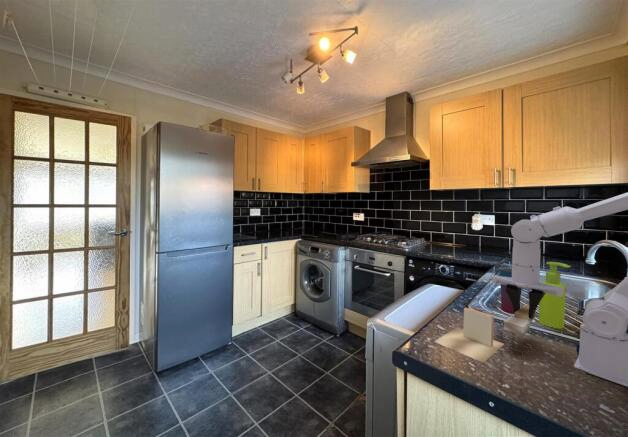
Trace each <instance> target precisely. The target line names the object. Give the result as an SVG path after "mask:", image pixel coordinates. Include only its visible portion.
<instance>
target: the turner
mask: <svg viewBox="0 0 628 437" xmlns="http://www.w3.org/2000/svg"><path fill="white" fill-rule="evenodd" d="M536 312H537V311H535V315H534V318H532V319H531V318H529V304H523V305H522V306H520V309H519V310H517V311H516V312H515V313H513V314H514V316H513V315H510V316H508V317H507V318H506V319H505V320H504V321H503V329H504V330H505V331H509V332H512V333H515V334H519V335H522V336H525V335H526V334H527V332H528V331H529V330H530V329H531V328H530V327H531V323H532V322H533V320H534V319H536V316H537V314H536Z"/></svg>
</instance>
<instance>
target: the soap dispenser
mask: <svg viewBox="0 0 628 437" xmlns="http://www.w3.org/2000/svg"><path fill="white" fill-rule="evenodd" d="M546 265H549V270H548V271H546V272H545V280H544V281H540V282H541V283H545V284H549V285H553V286H558V287H563V288H564V290H563V296H562V297H560V296H556V295H554V294H549V293H546V294H545V295H544V296H543V298H542V299H541V301H540V302H539V304H538V306H539V308H538V309H539V311H538V322H539V324H540V325H542V324H543V325H542V326H544V325H546V326H545V327H547V326H549V327H548V328H551V327H553V328H552V329H556V328H557V329H558V330H561V329H564V328H565V314H566V313H565V309H566V291H567V290H566V288H567V287H566V286H567V285H565V284H563V283H561V273H560V272H558V267H562V268H565V269H566V268H571V267H572V266H571V265H568V264H566V263H562V262H556V261H546Z"/></svg>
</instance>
